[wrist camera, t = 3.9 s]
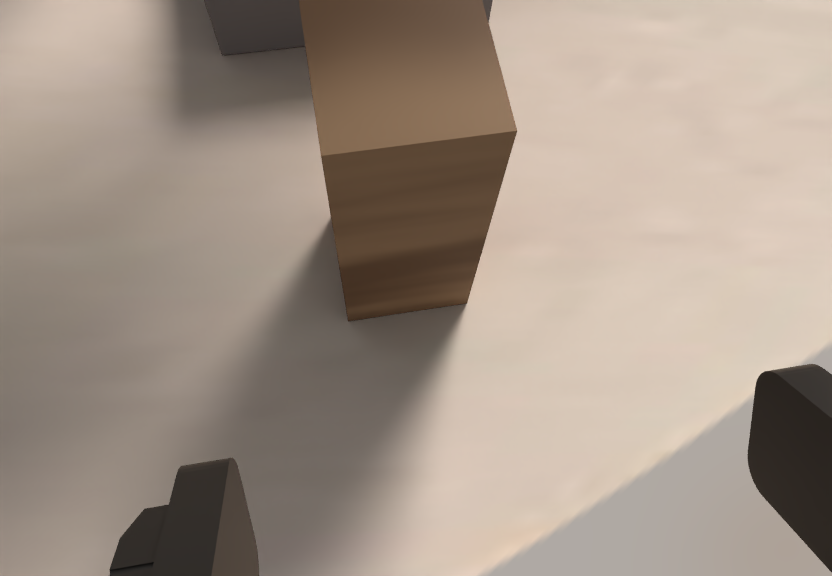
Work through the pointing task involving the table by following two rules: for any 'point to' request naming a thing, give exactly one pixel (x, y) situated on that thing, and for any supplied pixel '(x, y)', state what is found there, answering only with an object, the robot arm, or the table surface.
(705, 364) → the table surface
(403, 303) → the walnut peg
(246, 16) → the socket
